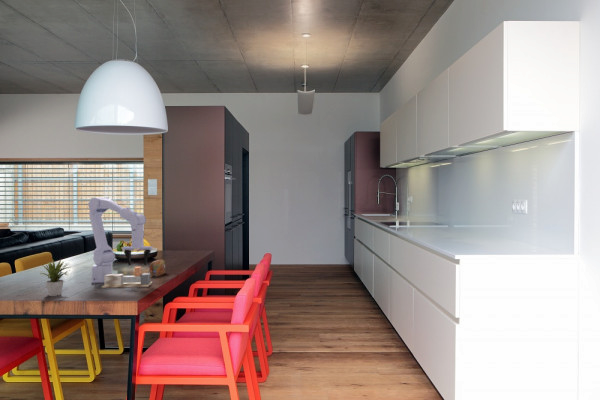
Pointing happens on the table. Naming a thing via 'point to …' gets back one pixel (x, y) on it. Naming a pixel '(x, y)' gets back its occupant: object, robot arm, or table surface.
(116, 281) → the tube stand
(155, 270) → the tin
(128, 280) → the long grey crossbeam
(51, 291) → the house plant
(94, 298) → the table surface
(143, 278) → the socket
